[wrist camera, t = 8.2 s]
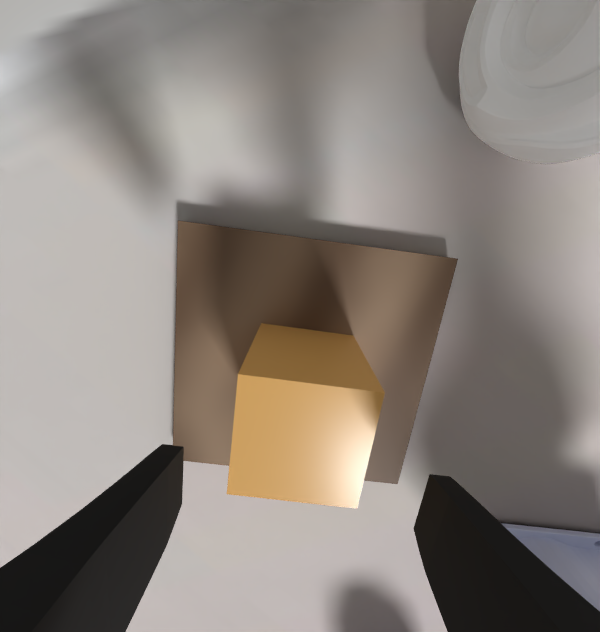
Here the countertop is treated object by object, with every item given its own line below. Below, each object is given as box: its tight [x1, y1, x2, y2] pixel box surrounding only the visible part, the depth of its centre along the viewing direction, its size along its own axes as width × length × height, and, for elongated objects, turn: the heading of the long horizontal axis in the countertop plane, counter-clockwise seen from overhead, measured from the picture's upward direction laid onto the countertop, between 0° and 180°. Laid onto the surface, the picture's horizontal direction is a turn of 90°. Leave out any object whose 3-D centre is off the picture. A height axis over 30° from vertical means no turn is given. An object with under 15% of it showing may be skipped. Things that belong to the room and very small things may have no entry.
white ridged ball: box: [459, 0, 600, 164], centre depth 10 cm, size 8×8×8 cm
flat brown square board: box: [173, 221, 458, 484], centre depth 15 cm, size 14×14×4 cm
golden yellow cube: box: [227, 323, 385, 509], centre depth 13 cm, size 5×5×6 cm
